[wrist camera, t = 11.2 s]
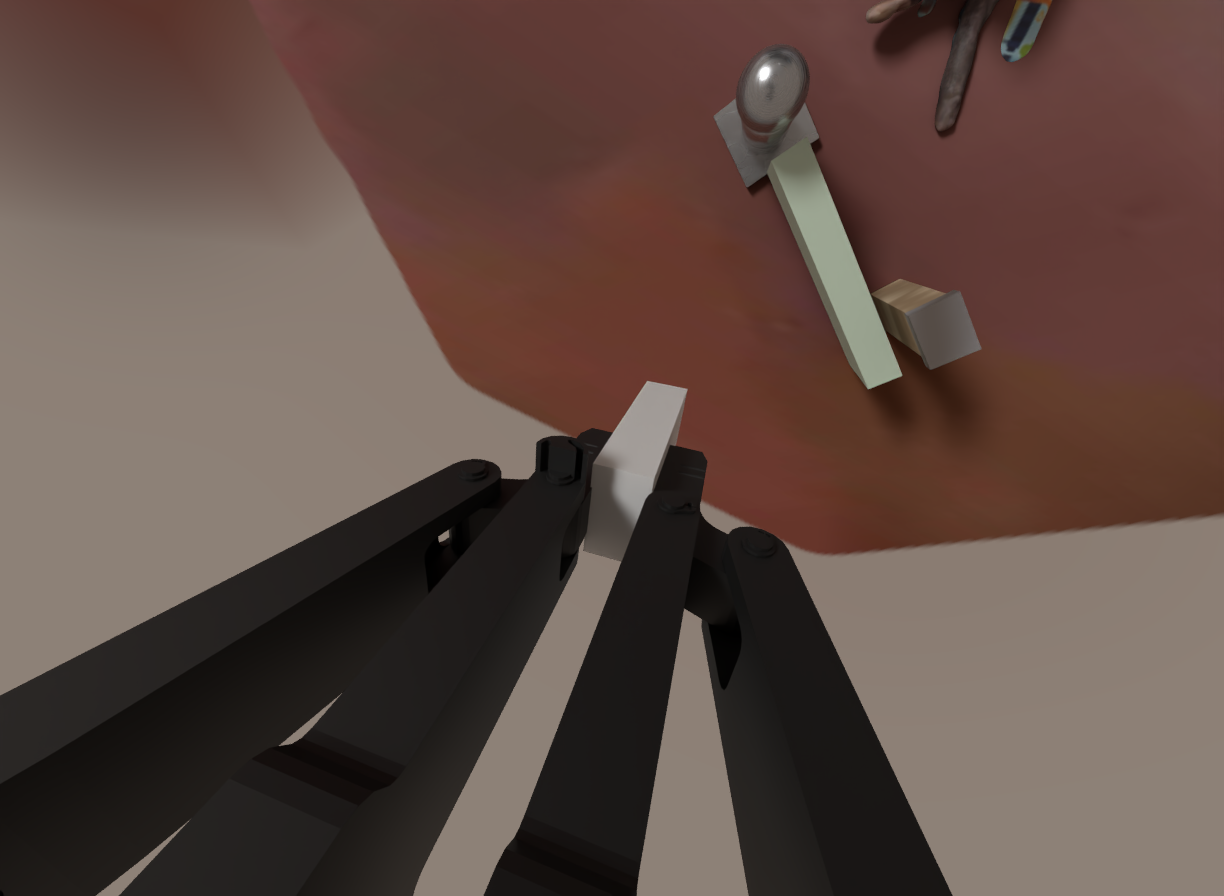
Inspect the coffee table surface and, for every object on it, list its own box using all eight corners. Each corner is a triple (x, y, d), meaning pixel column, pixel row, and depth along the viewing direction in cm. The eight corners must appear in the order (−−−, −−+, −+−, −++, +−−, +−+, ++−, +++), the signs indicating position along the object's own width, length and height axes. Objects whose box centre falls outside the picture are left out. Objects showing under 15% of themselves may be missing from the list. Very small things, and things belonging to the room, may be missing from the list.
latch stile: (902, 274, 31) (960, 291, 23) (919, 317, 32) (981, 348, 23) (866, 293, 32) (908, 315, 24) (883, 333, 33) (930, 369, 24)
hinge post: (785, 61, 28) (805, -26, 18) (818, 138, 29) (852, 95, 20) (714, 118, 30) (698, 66, 21) (746, 188, 31) (746, 170, 22)
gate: (766, 172, 30) (771, 160, 25) (796, 153, 29) (807, 136, 24) (849, 364, 34) (868, 389, 28) (877, 352, 33) (902, 375, 27)
